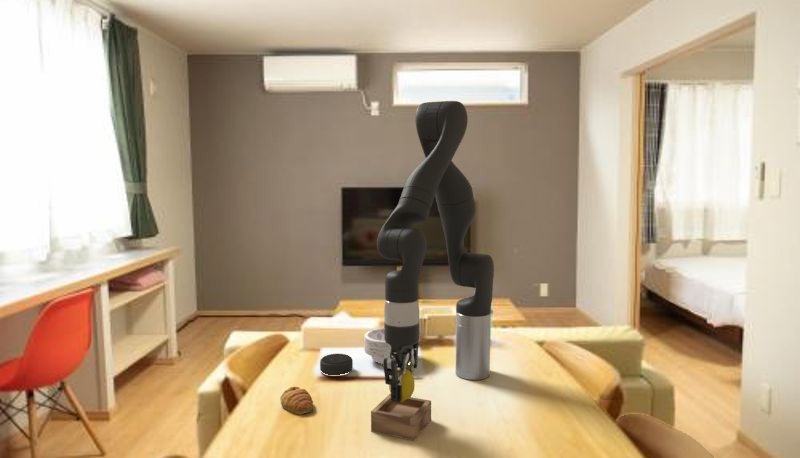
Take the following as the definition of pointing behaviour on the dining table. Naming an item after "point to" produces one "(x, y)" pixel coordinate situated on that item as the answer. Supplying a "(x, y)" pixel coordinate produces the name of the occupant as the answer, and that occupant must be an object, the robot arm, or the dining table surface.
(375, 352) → the paper bowls
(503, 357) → the dining table surface
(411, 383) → the lemon
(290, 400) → the pastry
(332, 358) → the smart speaker
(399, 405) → the open wooden tray
